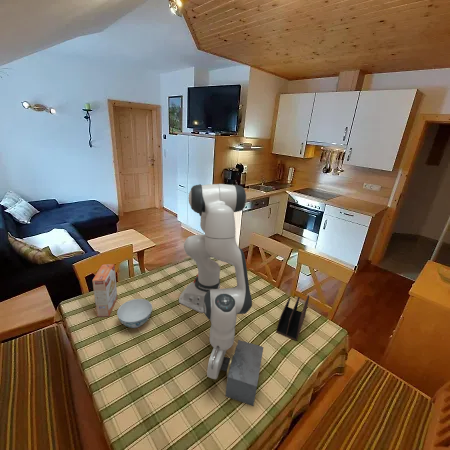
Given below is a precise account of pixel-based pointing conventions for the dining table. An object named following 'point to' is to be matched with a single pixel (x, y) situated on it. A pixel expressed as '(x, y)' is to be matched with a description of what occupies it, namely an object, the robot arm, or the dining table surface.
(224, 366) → the brass flanged shaft
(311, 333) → the dining table surface
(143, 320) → the chinaware
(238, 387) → the housing
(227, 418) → the dining table surface
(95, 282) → the cracker box
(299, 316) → the letter holder
